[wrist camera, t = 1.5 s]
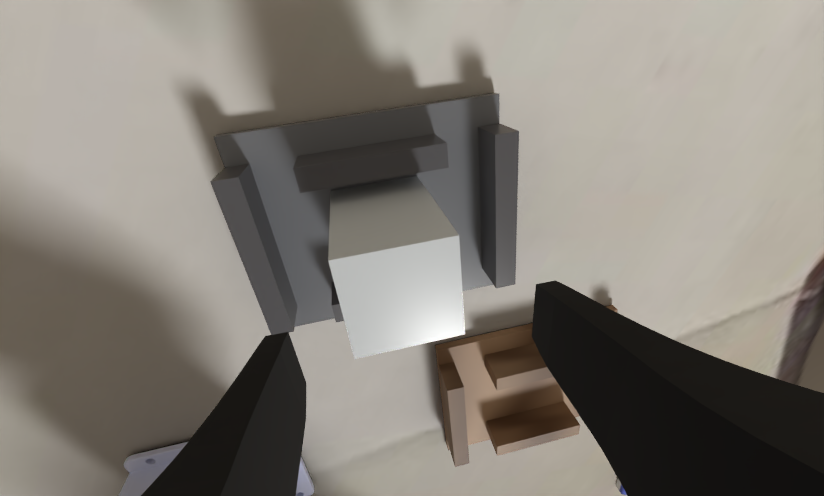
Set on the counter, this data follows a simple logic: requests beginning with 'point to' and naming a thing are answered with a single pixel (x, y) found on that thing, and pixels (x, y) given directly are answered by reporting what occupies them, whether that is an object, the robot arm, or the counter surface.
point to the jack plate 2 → (500, 394)
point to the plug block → (394, 266)
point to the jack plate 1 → (355, 166)
